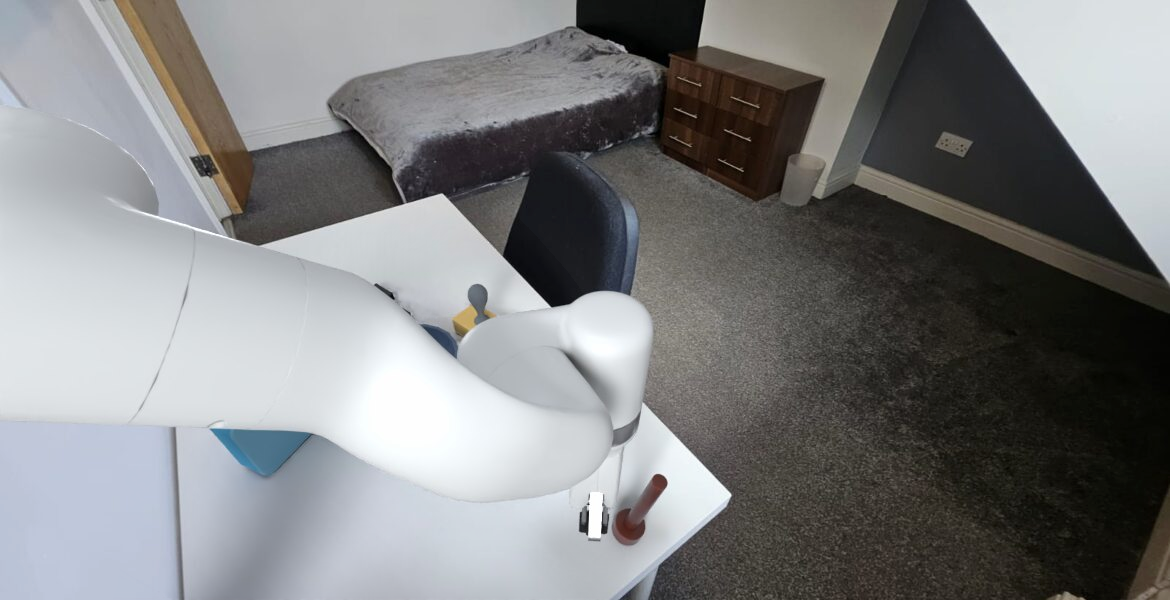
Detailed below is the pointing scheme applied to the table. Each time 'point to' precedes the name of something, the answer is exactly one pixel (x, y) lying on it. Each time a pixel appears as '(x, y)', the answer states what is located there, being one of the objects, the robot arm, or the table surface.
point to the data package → (261, 447)
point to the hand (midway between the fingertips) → (594, 497)
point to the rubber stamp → (473, 310)
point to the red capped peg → (638, 513)
